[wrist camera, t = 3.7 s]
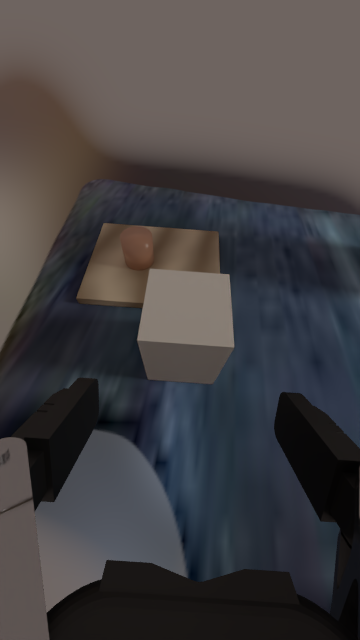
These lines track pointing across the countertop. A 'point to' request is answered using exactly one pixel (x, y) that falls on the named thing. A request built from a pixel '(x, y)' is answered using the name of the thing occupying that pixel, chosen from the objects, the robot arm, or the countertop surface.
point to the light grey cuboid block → (186, 326)
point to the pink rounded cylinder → (137, 247)
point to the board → (130, 285)
